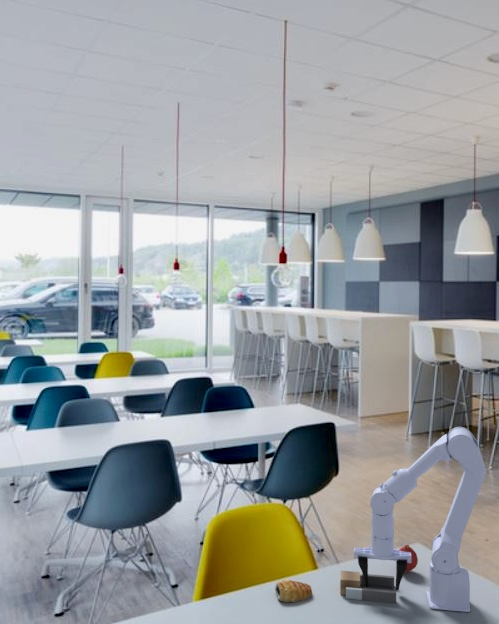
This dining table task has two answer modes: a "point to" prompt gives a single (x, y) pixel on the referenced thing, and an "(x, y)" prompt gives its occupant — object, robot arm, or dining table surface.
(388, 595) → the grey i-beam block
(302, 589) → the pastry
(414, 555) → the pomegranate
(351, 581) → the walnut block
